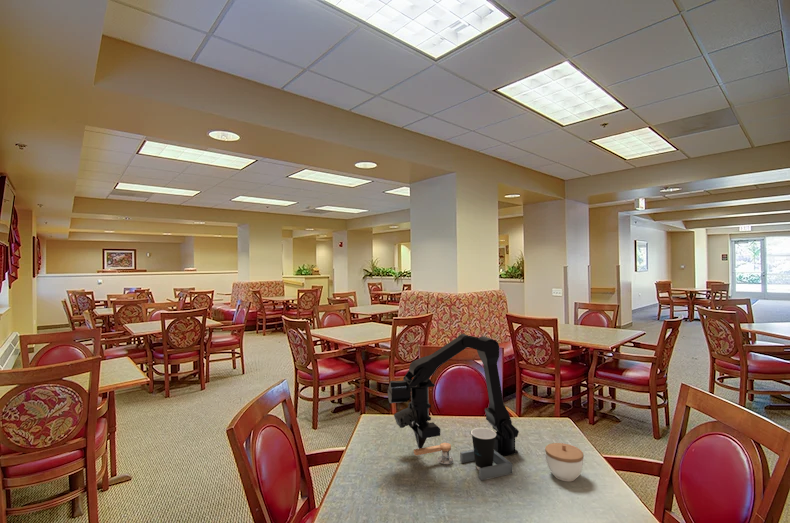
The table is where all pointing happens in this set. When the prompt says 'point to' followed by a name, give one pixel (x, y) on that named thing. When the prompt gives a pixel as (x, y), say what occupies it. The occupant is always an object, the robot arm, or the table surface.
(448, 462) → the post
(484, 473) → the holder
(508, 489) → the table surface
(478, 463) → the dixie cup
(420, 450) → the lever
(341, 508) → the table surface
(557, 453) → the lidded jar
